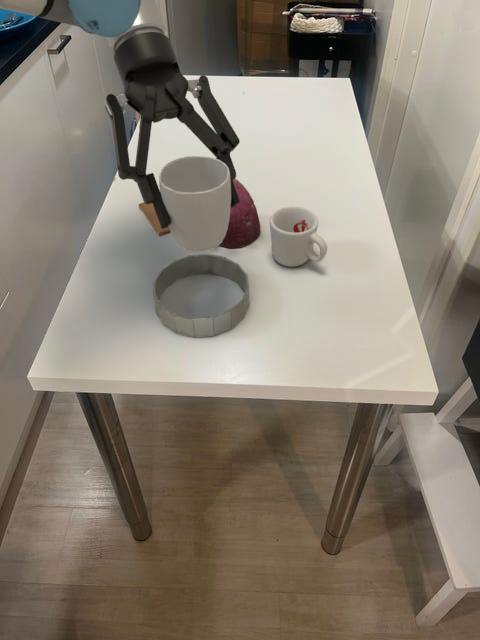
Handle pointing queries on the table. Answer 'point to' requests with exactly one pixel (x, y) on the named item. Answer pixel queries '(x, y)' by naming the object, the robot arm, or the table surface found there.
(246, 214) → the vegetable
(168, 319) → the ring
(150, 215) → the mat
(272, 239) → the cup
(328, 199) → the table surface
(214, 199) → the mug
